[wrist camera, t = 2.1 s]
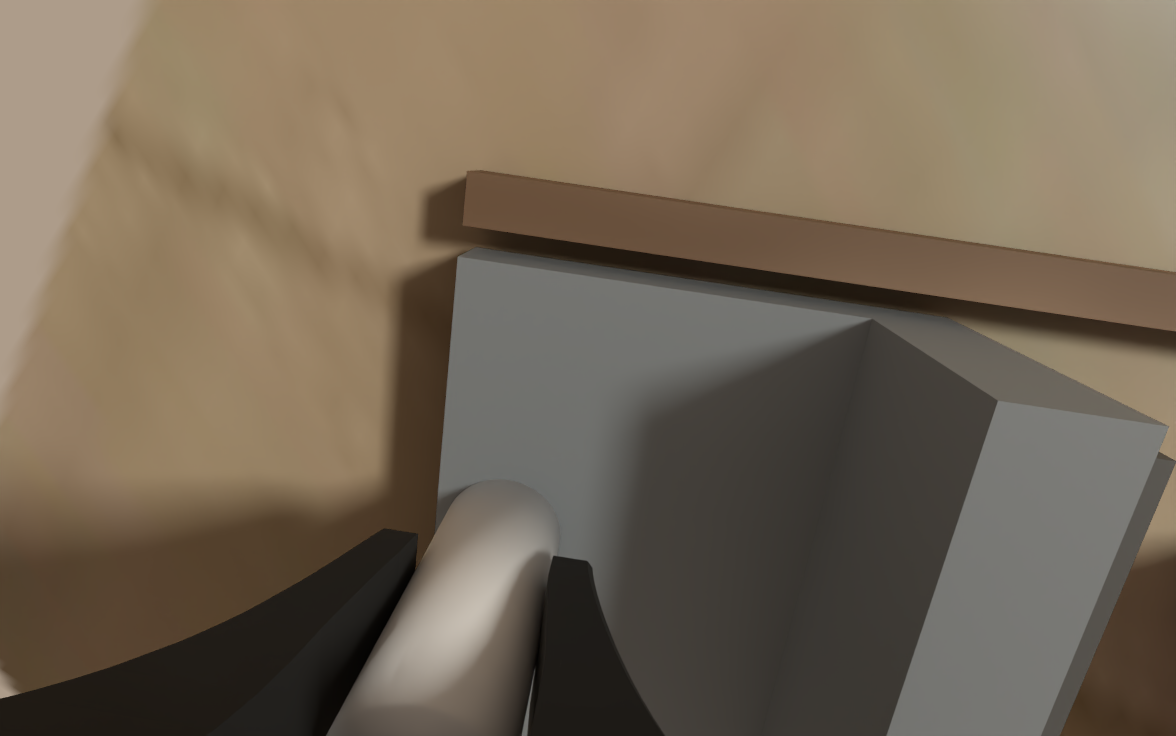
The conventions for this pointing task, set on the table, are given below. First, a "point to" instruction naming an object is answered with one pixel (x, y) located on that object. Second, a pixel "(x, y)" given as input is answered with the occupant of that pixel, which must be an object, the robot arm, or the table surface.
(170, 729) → the robot arm
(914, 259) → the frame
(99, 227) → the table surface
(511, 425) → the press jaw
